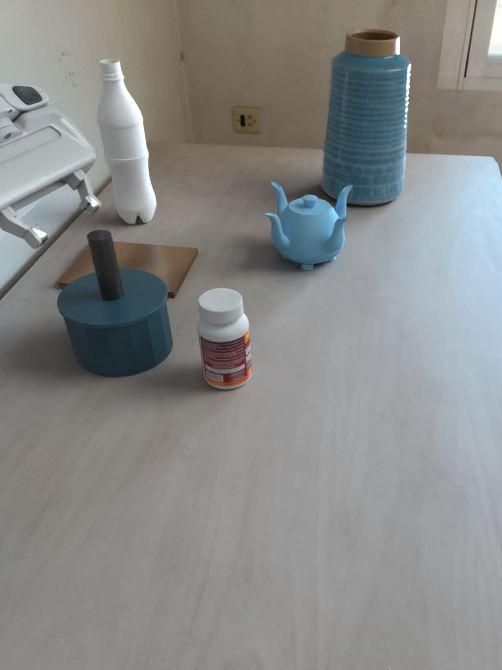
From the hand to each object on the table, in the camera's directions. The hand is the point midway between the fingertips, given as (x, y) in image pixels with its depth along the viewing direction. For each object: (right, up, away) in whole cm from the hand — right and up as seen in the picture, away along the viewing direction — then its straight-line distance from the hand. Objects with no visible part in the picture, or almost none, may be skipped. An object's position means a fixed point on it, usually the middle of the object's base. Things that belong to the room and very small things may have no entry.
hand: (70, 226), depth 73 cm
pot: (+3, -13, +11) cm, 17 cm away
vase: (+37, +23, +51) cm, 67 cm away
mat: (-1, +2, +26) cm, 26 cm away
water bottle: (-4, +14, +40) cm, 42 cm away
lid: (+3, -7, +6) cm, 10 cm away
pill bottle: (+17, -17, +7) cm, 25 cm away
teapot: (+27, +5, +31) cm, 42 cm away
